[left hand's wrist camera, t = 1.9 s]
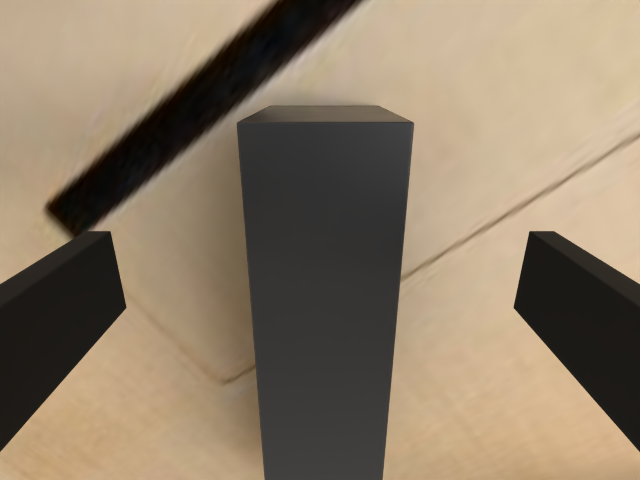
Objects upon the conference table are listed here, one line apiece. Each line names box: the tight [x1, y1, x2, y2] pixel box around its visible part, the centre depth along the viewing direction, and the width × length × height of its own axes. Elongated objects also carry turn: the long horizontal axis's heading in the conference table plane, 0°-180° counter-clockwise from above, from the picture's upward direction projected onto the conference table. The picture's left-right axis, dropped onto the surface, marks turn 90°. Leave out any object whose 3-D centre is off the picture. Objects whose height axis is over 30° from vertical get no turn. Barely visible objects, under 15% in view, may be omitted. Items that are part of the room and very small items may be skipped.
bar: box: [237, 106, 414, 480], centre depth 20 cm, size 24×6×8 cm, turn 0°
